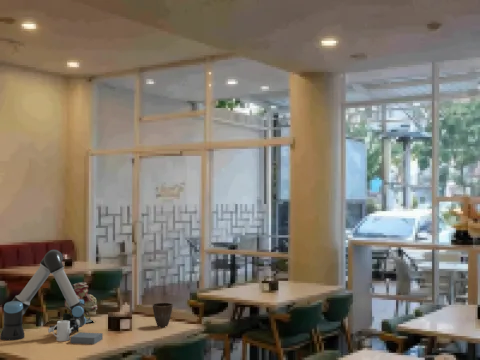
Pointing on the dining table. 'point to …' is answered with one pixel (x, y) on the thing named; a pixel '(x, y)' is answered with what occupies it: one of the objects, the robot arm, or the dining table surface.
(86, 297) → the rose bouquet
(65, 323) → the mug
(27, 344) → the dining table surface
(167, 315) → the plant pot
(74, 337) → the base block
